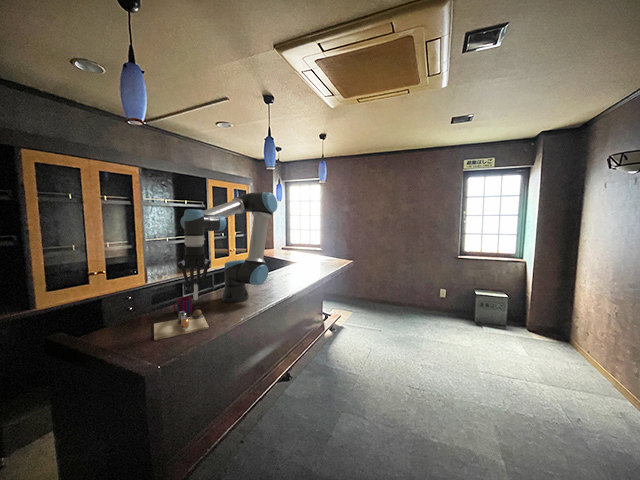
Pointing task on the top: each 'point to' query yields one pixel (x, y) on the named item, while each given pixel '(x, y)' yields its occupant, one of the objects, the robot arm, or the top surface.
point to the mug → (183, 304)
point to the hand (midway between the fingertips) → (195, 299)
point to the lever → (183, 320)
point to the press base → (174, 326)
